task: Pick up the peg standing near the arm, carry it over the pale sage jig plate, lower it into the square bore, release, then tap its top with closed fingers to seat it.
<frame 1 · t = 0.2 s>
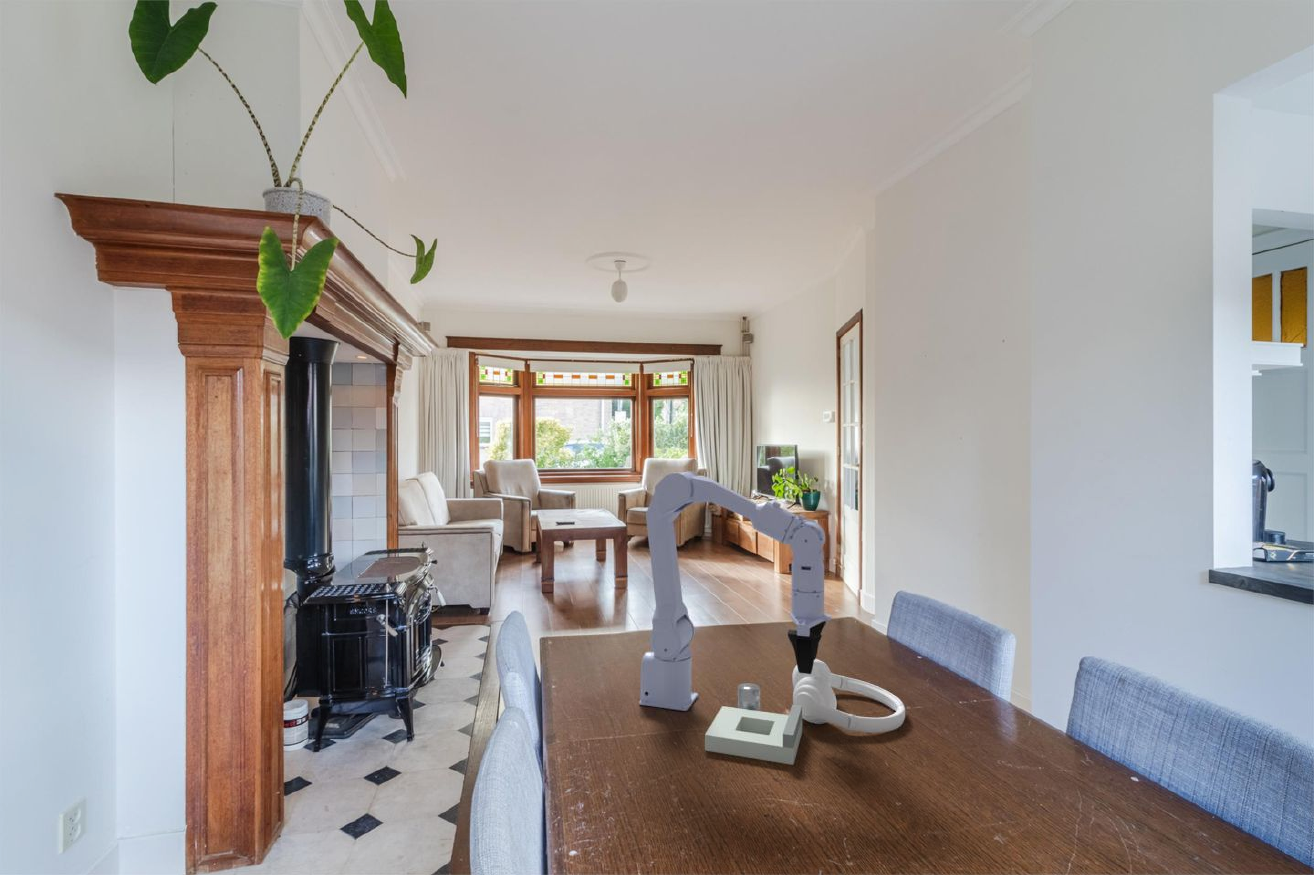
hand: (807, 665, 113), 10 cm above the table, tool pointing down, fingers open, 7 cm apart
jig: (755, 740, 105), on the table
peg: (748, 714, 116), on the table
headphones: (847, 714, 117), on the table
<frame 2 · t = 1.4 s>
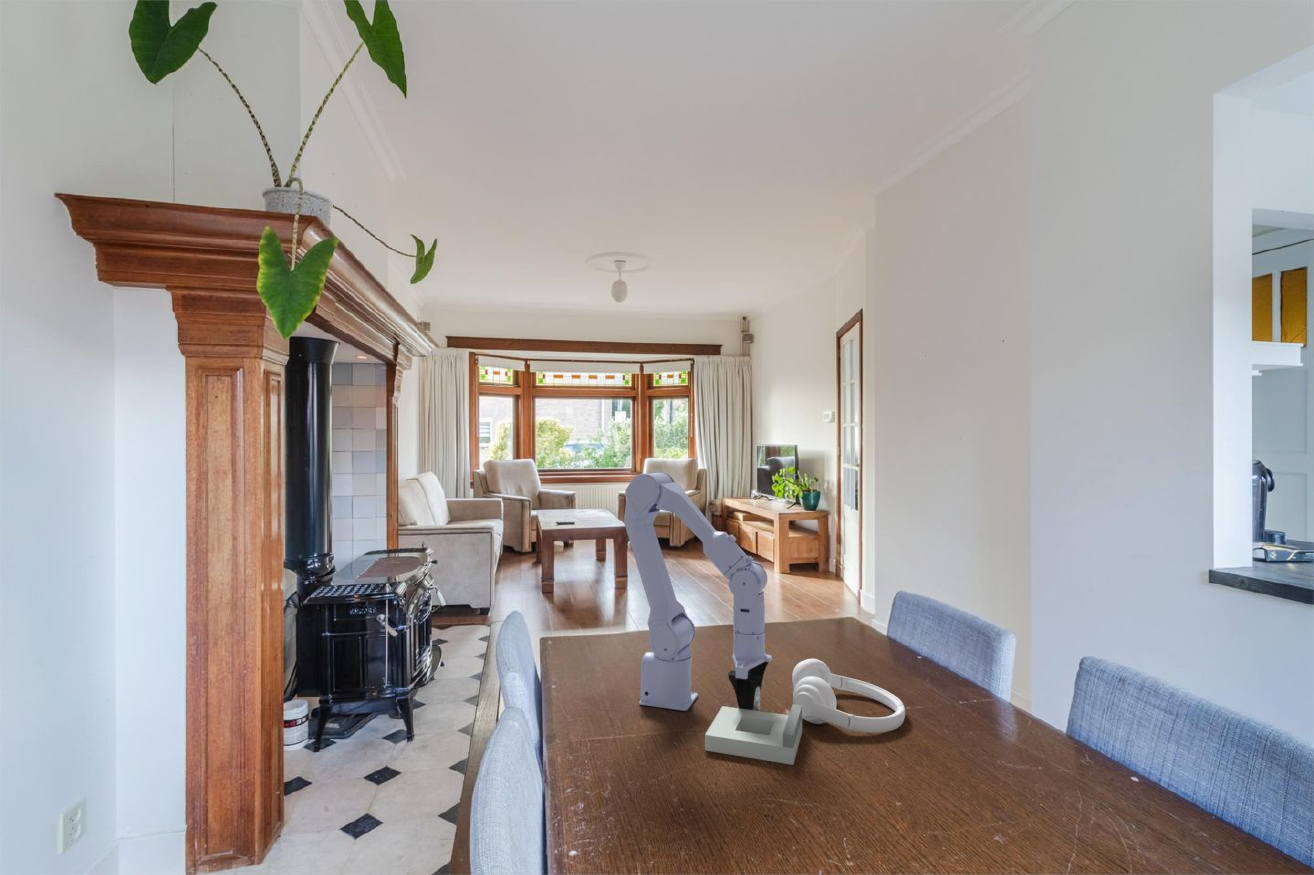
hand: (749, 705, 116), 2 cm above the table, tool pointing down, fingers open, 6 cm apart
nothing on the table moved.
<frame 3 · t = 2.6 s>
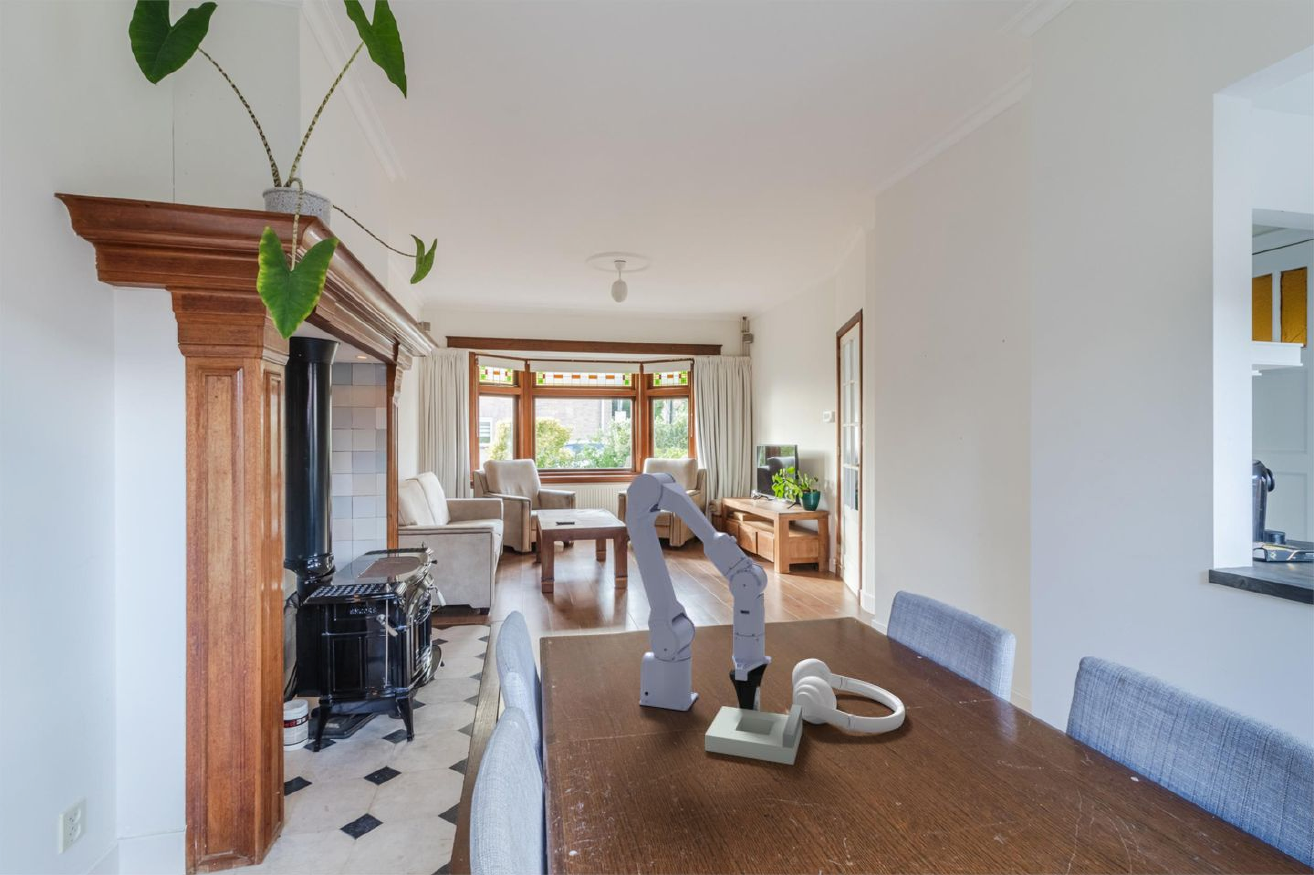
hand: (749, 706, 116), 1 cm above the table, tool pointing down, fingers closed on peg, 4 cm apart
peg: (749, 714, 116), on the table, touching gripper
everything else where it was.
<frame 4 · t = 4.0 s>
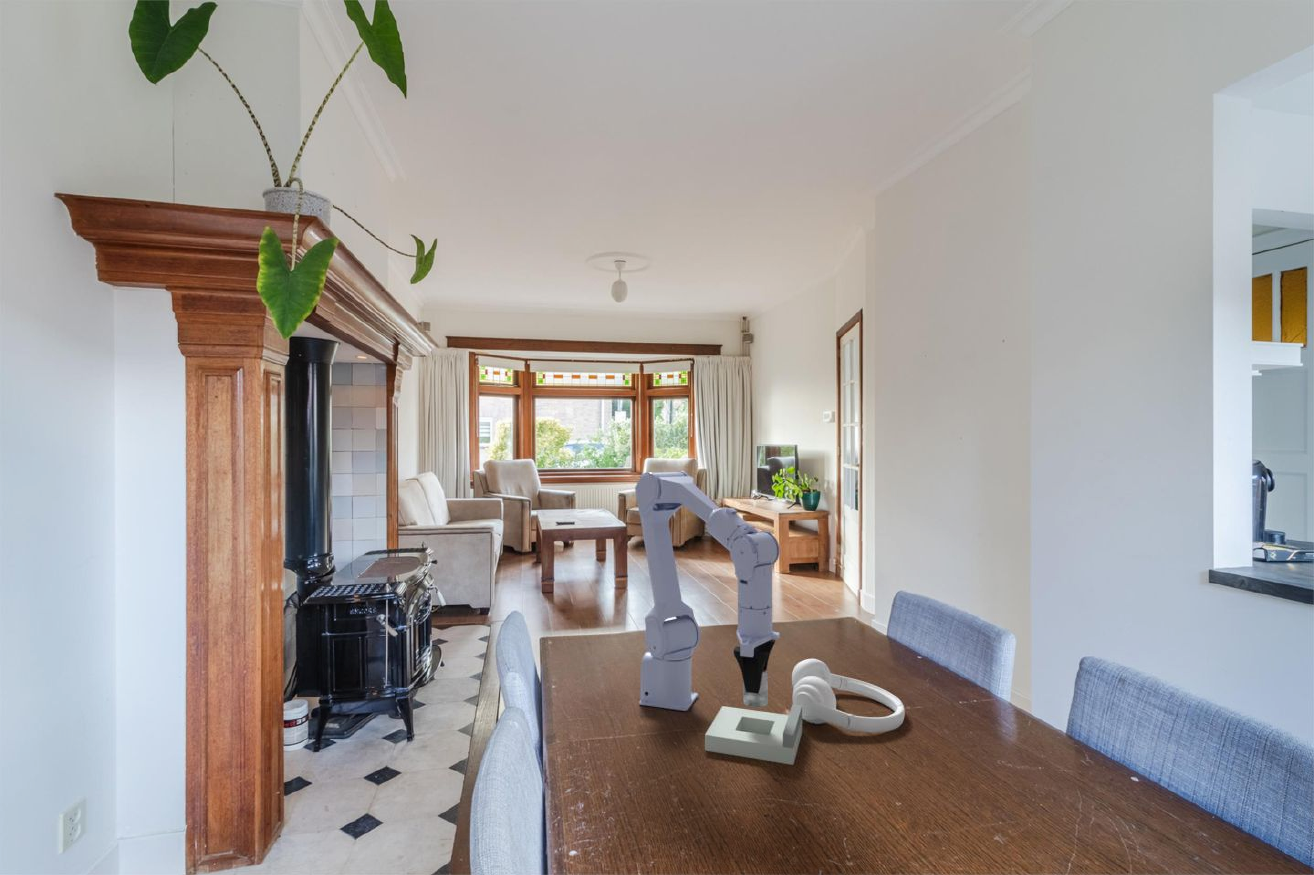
hand: (755, 687, 105), 9 cm above the table, tool pointing down, fingers closed on peg, 4 cm apart
peg: (755, 702, 105), point 6 cm above the table, touching gripper
everything else where it was.
when the fingers open (3 cm above the table, at t = 5.9 s): peg stays where it is, resting in jig.
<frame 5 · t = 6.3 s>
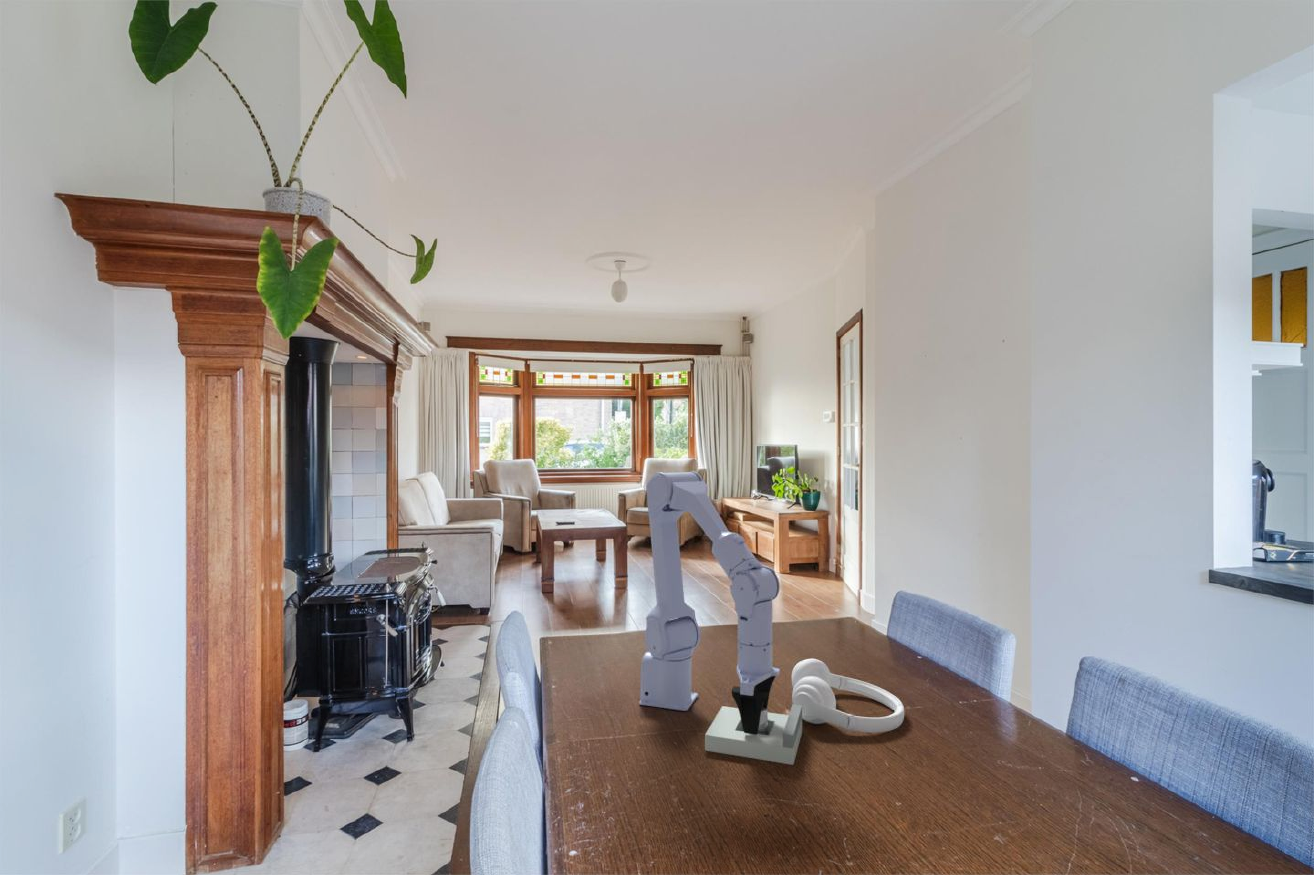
hand: (755, 723, 105), 3 cm above the table, tool pointing down, fingers open, 7 cm apart
peg: (755, 740, 105), resting in jig
everything else where it was.
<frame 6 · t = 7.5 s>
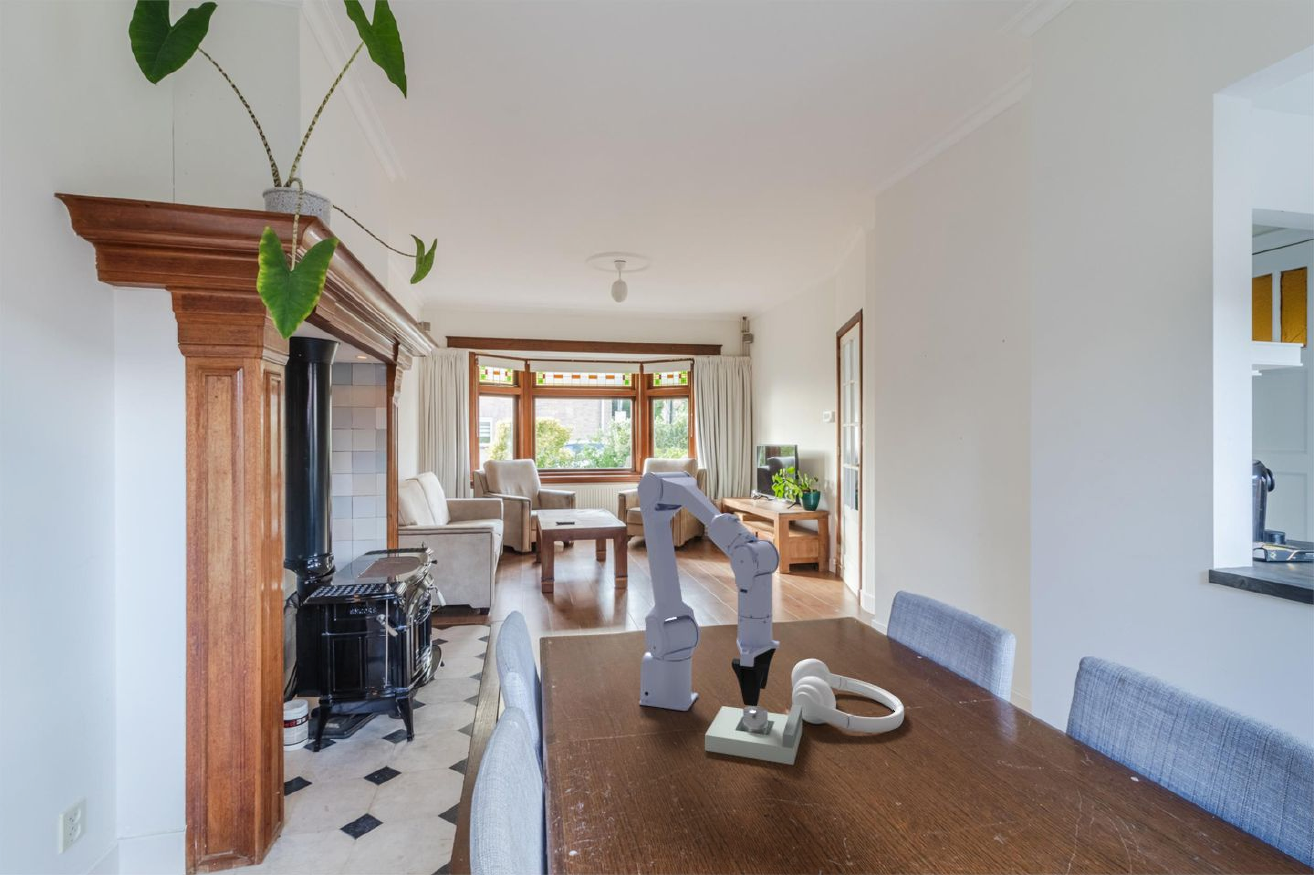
hand: (755, 696, 105), 7 cm above the table, tool pointing down, fingers open, 7 cm apart
nothing on the table moved.
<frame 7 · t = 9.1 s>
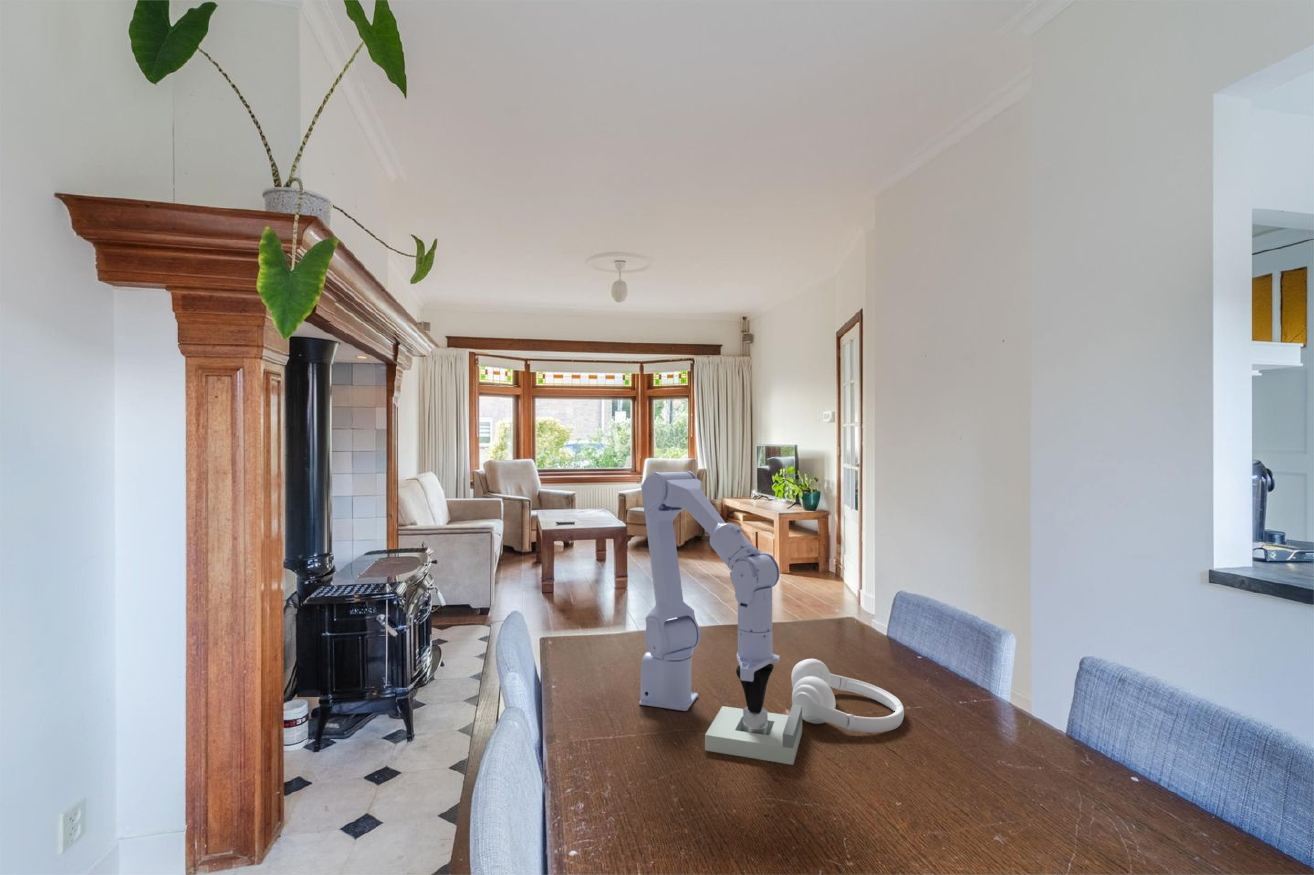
hand: (755, 709, 105), 5 cm above the table, tool pointing down, fingers closed
nothing on the table moved.
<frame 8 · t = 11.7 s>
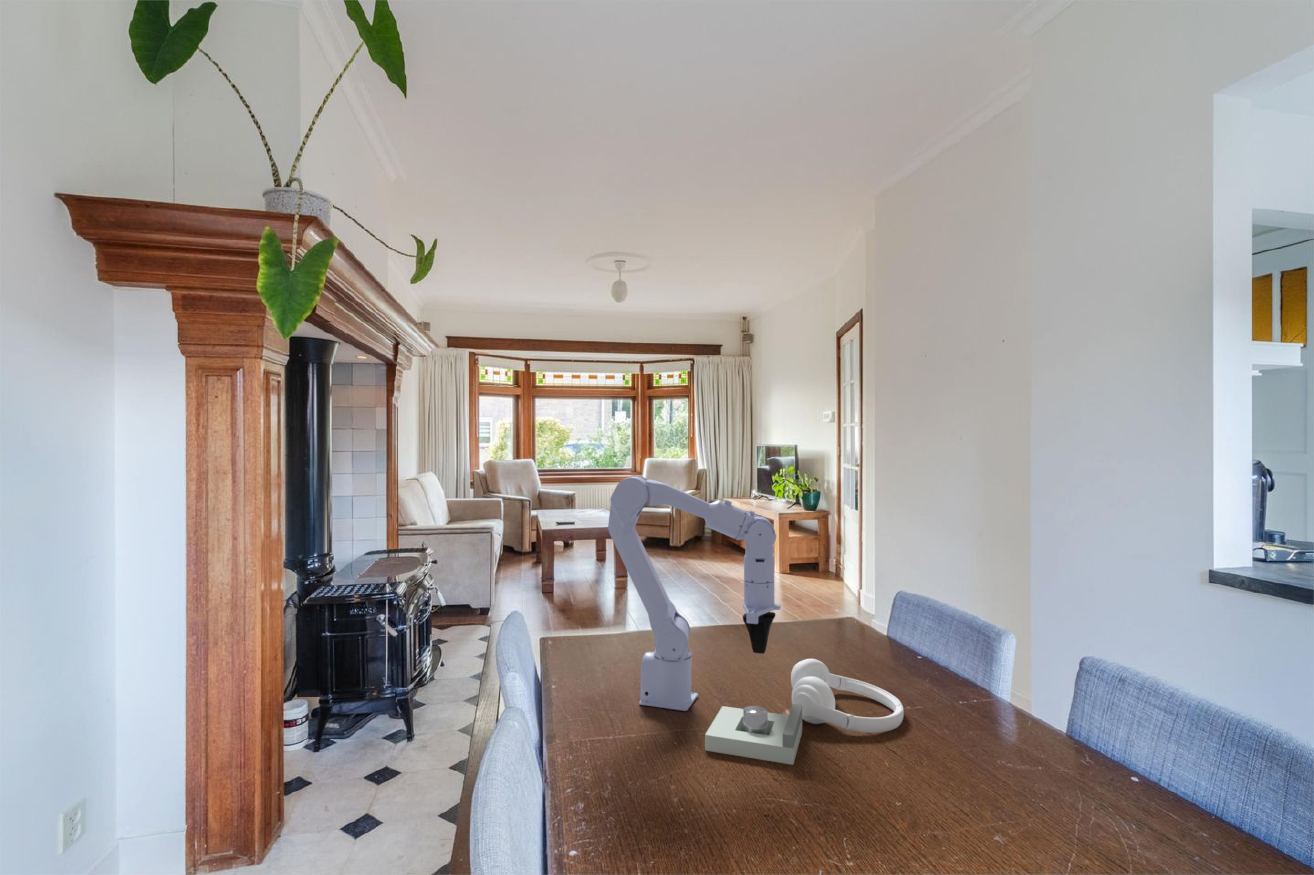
hand: (759, 652, 120), 10 cm above the table, tool pointing down, fingers closed
nothing on the table moved.
at the end: peg 0.1 cm off-centre on the jig, point 0.0 cm above the jig's base; peg tilted 0°; the gripper is holding nothing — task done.
